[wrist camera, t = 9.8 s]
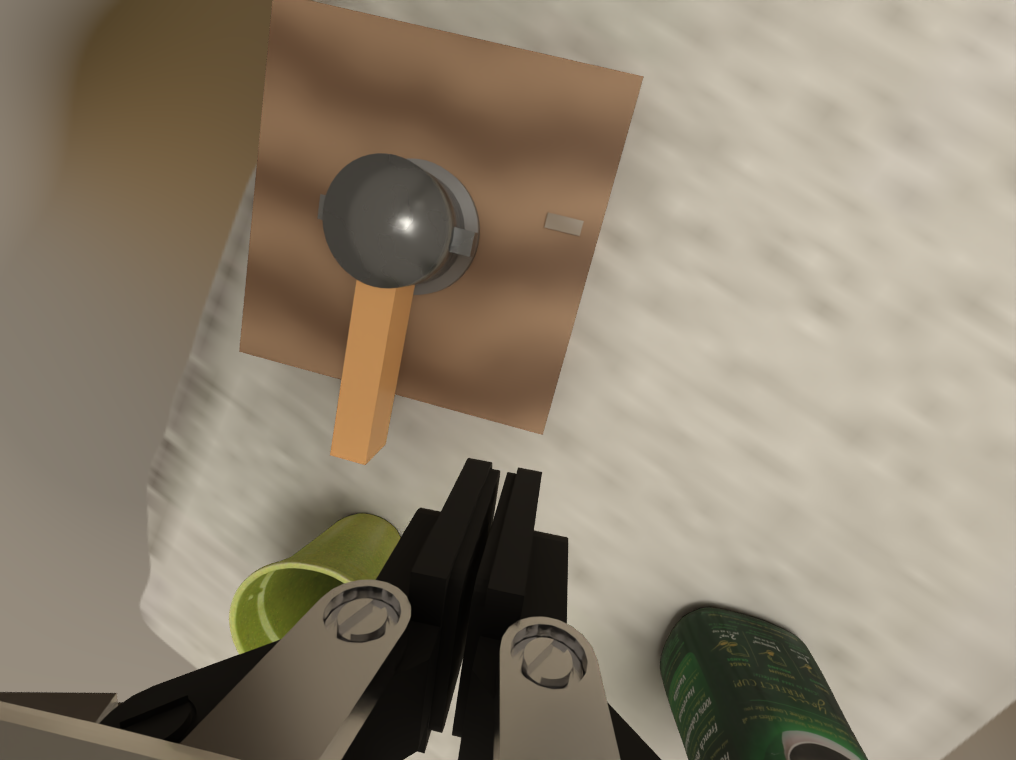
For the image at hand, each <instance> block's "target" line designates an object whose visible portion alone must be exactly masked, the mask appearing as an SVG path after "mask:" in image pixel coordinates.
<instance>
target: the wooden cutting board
mask: <svg viewBox="0 0 1016 760" xmlns="http://www.w3.org/2000/svg"><path fill="white" fill-rule="evenodd" d="M642 80H643V76H638V75H634V74H630V73H625V72H621V71H616V70H612V69H608V68H603V67H599V66H595V65H590V64H586V63H581V62H577V61H573V60H568V59H564V58H559V57H555V56H551V55H546V54H542V53H538V52H533V51H529V50H524V49H520V48H516V47H511V46H507V45H502V44H498V43H494V42H489V41H485V40H481V39H476V38H472V37H467V36H463V35H459V34H454V33H450V32H445V31H441V30H437V29H432V28H428V27H424V26H419V25H415V24H410V23H406V22H402V21H397V20H393V19H388V18H384V17H380V16H375V15H371V14H367V13H362V12H358V11H353V10H349V9H345V8H340V7H336V6H331V5H327V4H323V3H318V2H314V1H310V0H272V11H271V20H270V32H269V42H268V53H267V63H266V74H265V85H264V95H263V106H262V116H261V127H260V137H259V138H260V139H259V149H258V159H257V169H256V180H255V191H254V201H253V212H252V223H251V233H250V244H249V255H248V265H247V276H246V287H245V297H244V308H243V319H242V329H241V340H240V351H239V352H243V353H247V354H250V355H254V356H257V357H261V358H265V359H268V360H272V361H276V362H279V363H283V364H287V365H290V366H294V367H298V368H301V369H305V370H308V371H312V372H316V373H319V374H323V375H327V376H330V377H334V378H338V379H341V380H342V373H343V367H344V360H345V353H346V347H347V340H348V334H349V327H350V320H351V314H352V307H353V300H354V294H355V287H356V281H357V279H355V278H354V277H352V276H351V275H350V274H348V273H347V272H346V271H345V270H344V269H343V268H342V267H341V266H340V265H339V263H338V262H337V261H336V259H335V258H334V256H333V255H332V253H331V251H330V249H329V247H328V244H327V242H326V238H325V235H324V230H323V220H321V219H317V217H318V209H319V201H320V194H323V195H326V193H327V191H328V188H329V186H330V184H331V182H332V181H333V179H334V178H335V176H336V175H337V174H338V173H339V172H340V171H341V170H342V169H343V168H344V167H345V166H346V165H347V164H349V163H350V162H352V161H353V160H355V159H358V158H360V157H362V156H366V155H369V154H376V153H387V154H393V155H397V156H400V157H403V158H405V159H407V160H409V161H411V162H413V163H414V164H416V165H417V166H419V167H421V168H422V169H424V170H425V171H427V172H429V173H430V174H432V175H433V176H435V177H436V178H438V179H439V180H441V181H442V182H443V183H444V184H446V185H447V186H448V188H449V189H450V190H451V191H452V192H453V194H454V195H455V197H456V199H457V200H458V202H459V204H460V207H461V210H462V213H463V218H464V225H465V230H468V231H472V232H476V233H479V234H478V239H477V243H476V248H475V253H474V257H468V256H464V255H460V254H459V256H458V258H457V260H456V261H455V263H454V264H453V265H452V267H451V268H450V269H449V270H448V271H447V272H446V273H444V274H443V275H442V276H440V277H439V278H437V279H435V280H433V281H430V282H428V283H423V284H418V285H415V287H414V292H413V298H412V303H411V309H410V314H409V320H408V325H407V330H406V336H405V341H404V347H403V352H402V358H401V363H400V369H399V374H398V379H397V385H396V390H395V394H396V395H400V396H403V397H407V398H411V399H414V400H418V401H421V402H425V403H429V404H432V405H436V406H440V407H443V408H447V409H451V410H454V411H458V412H462V413H465V414H469V415H472V416H476V417H480V418H483V419H487V420H491V421H494V422H498V423H502V424H505V425H509V426H513V427H516V428H520V429H523V430H527V431H531V432H534V433H538V434H542V435H543V431H544V428H545V424H546V421H547V417H548V414H549V410H550V407H551V403H552V399H553V396H554V392H555V389H556V385H557V382H558V378H559V375H560V371H561V367H562V364H563V360H564V357H565V353H566V350H567V346H568V343H569V339H570V336H571V332H572V328H573V325H574V321H575V318H576V314H577V311H578V307H579V304H580V300H581V296H582V293H583V289H584V286H585V282H586V279H587V275H588V272H589V268H590V264H591V261H592V257H593V254H594V250H595V247H596V243H597V240H598V236H599V233H600V229H601V225H602V222H603V218H604V215H605V211H606V208H607V204H608V201H609V197H610V193H611V190H612V186H613V183H614V179H615V176H616V172H617V169H618V165H619V162H620V158H621V154H622V151H623V147H624V144H625V140H626V137H627V133H628V130H629V126H630V122H631V119H632V115H633V112H634V108H635V105H636V101H637V98H638V94H639V91H640V87H641V83H642Z"/></svg>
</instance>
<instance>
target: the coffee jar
mask: <svg viewBox="0 0 1016 760" xmlns="http://www.w3.org/2000/svg"><path fill="white" fill-rule="evenodd" d="M660 671H661V676H662V680H663V684H664V687H665V691H666V694H667V697H668V701H669V704H670V707H671V710H672V713H673V716H674V719H675V721H676V724H677V727H678V730H679V733H680V736H681V739H682V742H683V745H684V748H685V751H686V754H687V757H688V760H868V758H867V757H866V755H865V753H864V751H863V750H862V748H861V746H860V745H859V743H858V741H857V739H856V737H855V735H854V733H853V732H852V730H851V728H850V726H849V724H848V722H847V720H846V719H845V717H844V715H843V713H842V711H841V709H840V707H839V705H838V703H837V701H836V699H835V697H834V695H833V693H832V691H831V689H830V687H829V685H828V683H827V681H826V679H825V678H824V676H823V674H822V672H821V670H820V668H819V667H818V665H817V663H816V662H815V660H814V658H813V656H812V655H811V653H810V651H809V650H808V648H807V646H806V645H805V644H804V643H803V642H802V641H801V640H800V639H799V638H798V637H797V636H795V635H794V634H792V633H790V632H788V631H786V630H784V629H782V628H780V627H777V626H775V625H773V624H770V623H768V622H765V621H763V620H760V619H757V618H753V617H751V616H747V615H744V614H740V613H736V612H732V611H728V610H723V609H718V608H701V609H698V610H696V611H693V612H691V613H689V614H687V615H686V616H684V617H683V618H682V619H681V620H680V621H679V622H678V623H677V624H676V626H675V627H674V629H673V630H672V632H671V634H670V636H669V637H668V639H667V641H666V644H665V646H664V649H663V652H662V656H661V661H660Z"/></svg>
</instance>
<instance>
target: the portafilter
mask: <svg viewBox="0 0 1016 760" xmlns="http://www.w3.org/2000/svg"><path fill="white" fill-rule="evenodd" d="M317 219H321V220H323V230H324V235H325V238H326V242H327V244H328V247H329V249H330V251H331V253H332V255H333V256H334V258H335V259H336V261H337V262H338V263H339V265H340V266H341V267H342V268H343V269H344V270H345V271H346V272H347V273H348V274H350V275H351V276H352V277H354V278H355V279H357V281H356V287H355V294H354V300H353V307H352V314H351V320H350V327H349V334H348V340H347V347H346V353H345V360H344V367H343V373H342V380H341V386H340V393H339V400H338V406H337V413H336V420H335V426H334V433H333V439H332V446H331V453H330V455H331V456H335V457H339V458H342V459H346V460H349V461H353V462H356V463H360V464H363V465H366V464H367V463H368V462H369V461H370V460H371V459H372V458H373V457H374V456H375V455H376V454H377V453H378V452H379V451H380V450H381V449H382V447H383V446H384V445H385V444H386V439H387V434H388V428H389V423H390V417H391V412H392V407H393V401H394V396H395V390H396V385H397V379H398V374H399V369H400V363H401V358H402V352H403V347H404V341H405V336H406V330H407V325H408V320H409V314H410V309H411V303H412V298H413V292H414V287H415V285H418V284H423V283H428V282H430V281H433V280H435V279H437V278H439V277H440V276H442V275H443V274H444V273H446V272H447V271H448V270H449V269H450V268H451V267H452V265H453V264H454V263H455V261H456V260H457V258H458V256H459V254H460V255H464V256H468V257H474V253H475V248H476V243H477V239H478V234H479V233H476V232H472V231H468V230H465V225H464V218H463V213H462V210H461V207H460V204H459V202H458V200H457V199H456V197H455V195H454V194H453V192H452V191H451V190H450V189H449V188H448V186H447V185H446V184H444V183H443V182H442V181H441V180H439V179H438V178H436V177H435V176H433V175H432V174H430V173H429V172H427V171H425V170H424V169H422V168H421V167H419V166H417V165H416V164H414V163H413V162H411V161H409V160H407V159H405V158H403V157H400V156H397V155H393V154H387V153H376V154H369V155H366V156H362V157H360V158H358V159H355V160H353V161H352V162H350V163H349V164H347V165H346V166H345V167H344V168H343V169H342V170H341V171H340V172H339V173H338V174H337V175H336V176H335V178H334V179H333V181H332V182H331V184H330V186H329V188H328V191H327V193H326V195H323V194H320V201H319V209H318V217H317Z"/></svg>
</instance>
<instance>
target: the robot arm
mask: <svg viewBox="0 0 1016 760" xmlns="http://www.w3.org/2000/svg"><path fill="white" fill-rule="evenodd" d="M541 476H542V472H539V471H534V470H529V469H523V468H518V470H517V474H515V473H510V472H507V476H506V479H505V482H504V486H503V489H502V492H501V496H500V499H499V503H498V506H497V509H496V513H495V516H494V511H495V504H496V498H497V491H498V485H499V478H500V471H499V470H494V469H492V462H487V461H482V460H476V459H471V458H468V459H467V461H466V463H465V465H464V467H463V469H462V471H461V473H460V475H459V477H458V479H457V481H456V483H455V485H454V487H453V489H452V491H451V493H450V495H449V497H448V499H447V501H446V503H445V505H444V507H443V509H442V511H441V512H439V511H434V510H430V509H425V508H419V509H418V510H417V511H416V513H415V515H414V516H413V518H412V520H411V521H410V523H409V525H408V526H407V528H406V530H405V531H404V533H403V535H402V536H401V538H400V540H399V541H398V543H397V545H396V546H395V548H394V550H393V551H392V553H391V555H390V556H389V558H388V560H387V561H386V563H385V565H384V566H383V568H382V570H381V572H380V573H379V575H378V577H377V578H376V580H357V581H352V582H348V583H344V584H342V585H340V586H338V587H336V588H334V589H332V590H331V591H329V592H328V593H327V594H325V595H324V596H323V597H322V598H321V599H320V600H319V601H318V602H317V603H316V604H315V605H314V606H313V607H312V608H311V609H310V610H309V611H308V612H307V613H306V614H305V615H304V616H303V617H302V618H301V619H300V620H299V621H298V622H297V623H296V624H295V625H294V627H293V628H292V629H291V630H290V631H289V632H288V633H287V634H286V635H285V636H284V637H283V638H282V639H280V640H277V641H275V642H272V643H269V644H266V645H264V646H261V647H258V648H255V649H253V650H250V651H247V652H245V653H242V654H239V655H236V656H234V657H231V658H228V659H226V660H223V661H220V662H217V663H215V664H212V665H209V666H206V667H204V668H201V669H198V670H196V671H193V672H190V673H187V674H185V675H182V676H179V677H176V678H174V679H171V680H169V681H166V682H163V683H160V684H158V685H155V686H152V687H150V688H148V689H146V690H144V691H142V692H140V693H137V694H135V695H133V696H132V697H130V698H129V699H127V700H126V701H125V702H119V703H118V700H117V693H57V692H55V693H53V692H52V693H51V692H0V760H403V759H405V758H407V757H408V756H410V755H412V754H413V753H415V752H417V751H418V752H422V753H425V750H426V746H427V743H428V740H429V736H430V733H431V730H433V731H437V732H441V733H442V732H443V729H444V726H445V722H446V719H447V715H448V711H449V708H450V704H451V700H452V697H453V693H454V689H455V685H456V682H457V678H458V674H459V671H460V667H461V663H462V660H463V663H462V669H461V676H460V683H459V690H458V697H457V703H456V710H455V717H454V724H453V731H452V735H453V736H457V737H461V744H460V750H459V757H458V760H661V759H660V758H659V757H658V756H657V755H656V754H655V752H654V751H653V750H652V749H651V748H650V747H649V746H648V745H647V744H646V743H645V742H644V741H643V740H642V739H641V738H640V736H639V735H638V734H637V733H636V732H635V731H634V730H633V729H632V728H631V727H630V726H629V725H628V724H627V723H626V722H625V721H624V719H623V718H622V717H621V716H620V715H619V714H618V713H617V712H616V711H615V710H614V709H613V708H612V707H611V706H610V705H609V703H608V702H607V699H606V694H605V690H604V686H603V681H602V677H601V673H600V668H599V664H598V660H597V657H596V655H595V652H594V650H593V647H592V646H591V644H590V643H589V642H588V640H587V639H586V638H585V637H584V635H583V634H581V633H580V632H579V631H577V630H576V629H575V628H574V627H572V626H571V625H568V624H567V584H568V538H567V537H563V536H558V535H553V534H548V533H543V532H538V531H534V525H535V518H536V511H537V504H538V497H539V490H540V483H541ZM493 517H494V519H493Z"/></svg>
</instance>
